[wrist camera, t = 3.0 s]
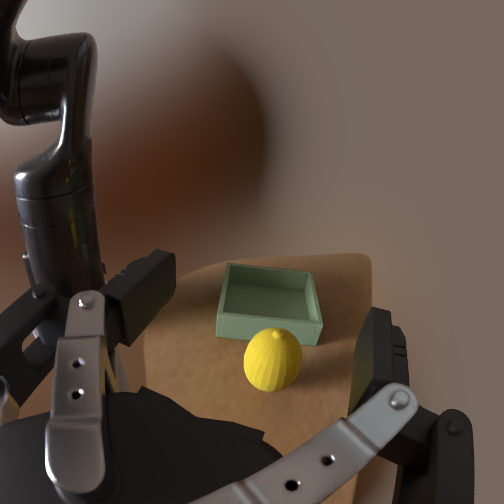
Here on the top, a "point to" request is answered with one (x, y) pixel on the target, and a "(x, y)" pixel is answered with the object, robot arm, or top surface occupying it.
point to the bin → (268, 303)
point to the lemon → (273, 359)
